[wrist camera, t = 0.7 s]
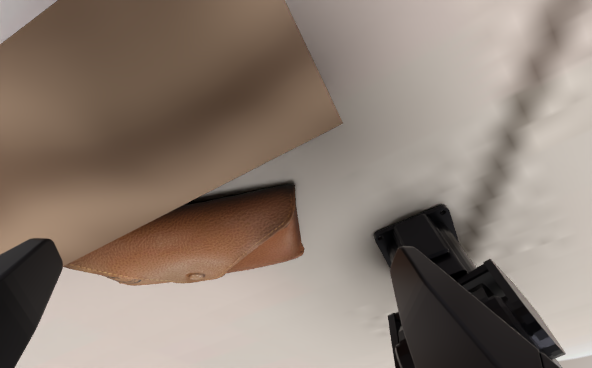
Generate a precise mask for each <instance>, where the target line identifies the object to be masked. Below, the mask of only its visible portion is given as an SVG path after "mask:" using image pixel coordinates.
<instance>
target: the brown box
mask: <svg viewBox="0 0 592 368" xmlns="http://www.w3.org/2000/svg"><path fill="white" fill-rule="evenodd" d="M341 124H343V122H342V120H341V118H340V116H339V114H338V112H337V109H336V107H335V105H334V103H333V101H332V99H331V97H330V95H329V93H328V91H327V88H326V86H325V84H324V82H323V80H322V78H321V76H320V74H319V72H318V69H317V67H316V65H315V63H314V61H313V59H312V57H311V55H310V53H309V51H308V48H307V46H306V44H305V42H304V40H303V38H302V36H301V34H300V32H299V29H298V27H297V25H296V23H295V21H294V19H293V17H292V15H291V13H290V10H289V8H288V6H287V4H286V2H285V0H58V1H56V2H55V3H54V4H53V5H51V6H50V7H49V8H47V9H46V10H45V11H43V12H42V13H41V14H39V15H38V16H37V17H36V18H34V19H33V20H32V21H30V22H29V23H28V24H26V25H25V26H24V27H22V28H21V29H20V30H19V31H17V32H16V33H15V34H13V35H12V36H11V37H9V38H8V39H7V40H5V41H4V42H3V43H2V44H0V254H2V253H4V252H6V251H8V250H10V249H12V248H14V247H15V246H17V245H19V244H21V243H23V242H25V241H27V240H29V239H32V238H48V239H51V240H52V241H53V242H54V244H55V246H56V248H57V250H58V252H59V254H60V256H61V258H62V261H63V266H65V265H67V264H69V263H71V262H73V261H75V260H77V259H79V258H80V257H82V256H84V255H86V254H88V253H90V252H92V251H94V250H96V249H98V248H100V247H102V246H104V245H106V244H108V243H110V242H112V241H114V240H116V239H118V238H120V237H122V236H124V235H125V234H127V233H129V232H131V231H133V230H135V229H137V228H139V227H141V226H143V225H145V224H147V223H149V222H151V221H153V220H155V219H157V218H159V217H161V216H163V215H165V214H167V213H169V212H171V211H172V210H174V209H176V208H178V207H180V206H182V205H184V204H186V203H188V202H190V201H192V200H194V199H196V198H198V197H200V196H202V195H204V194H206V193H208V192H210V191H212V190H214V189H216V188H217V187H219V186H221V185H223V184H225V183H227V182H229V181H231V180H233V179H235V178H237V177H239V176H241V175H243V174H245V173H247V172H249V171H251V170H253V169H255V168H257V167H259V166H261V165H263V164H264V163H266V162H268V161H270V160H272V159H274V158H276V157H278V156H280V155H282V154H284V153H286V152H288V151H290V150H292V149H294V148H296V147H298V146H300V145H302V144H304V143H306V142H308V141H309V140H311V139H313V138H315V137H317V136H319V135H321V134H323V133H325V132H327V131H329V130H331V129H333V128H335V127H337V126H339V125H341Z"/></svg>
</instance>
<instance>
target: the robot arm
mask: <svg viewBox="0 0 592 368" xmlns="http://www.w3.org/2000/svg"><path fill="white" fill-rule="evenodd" d="M442 210H443V211H442ZM380 236H381V237H380ZM374 239H375V241H376V243H377V245H378V247H379V249H380V250H381V252H382V254H383V256H384V258H385V260H386V261H387V263H388V265H389V267H390V273H391V278H392V283H393V288H394V292H395V297H396V301H397V306H398V311H399V312H397V313H393V314H391V315H389V316H388V320H389V328H390V335H391V341H392V348H393V354H394V361H395V368H562V367H561V365H560V364H559V363H558V361H557V360H556V359H555V358H557V357H560V356H562V355H565V352H564V350H563V349H562V347H561V346H560V344H559V343H558V342H557V340H556V339H555V337H554V336H553V334H552V333H551V331H550V330H549V329H548V327H547V326H546V324H545V323H544V321H543V320H542V318H541V317H540V315H539V314H538V313H537V311H536V310H535V309H534V308H533V307H532V305H531V304H530V303H529V302H528V300H527V299H526V298H525V297H524V295H523V294H522V293H521V292H520V291H519V289H518V288H517V287H516V286H515V285H514V283H513V282H512V281H511V280H510V279H509V278H508V277H507V276H506V275H505V274H504V273H503V272H502V271H501V270H500V269H499V267H498V266H497V265H496V264H495V263H494V262H493V261H492V260H491V259H489V260H487V261H485V262H484V264H483V265H481V266H479V267H477V268H476V266H475V265H474V264H473V262H472V261H471V259H470V258H469V257H468V255H467V254H466V252H465V251H464V250H463V248H462V247H461V245H460V244H459V241H458V238H457V235H456V231H455V228H454V225H453V222H452V218H451V215H450V212H449V209H448V208H447V207H446V206H445V205H439V206H437V207H435V208H432V209H430V210H428V211H425V212H423V213H420V214H418V215H416V216H413V217H411V218H408V219H406V220H404V221H401V222H399V223H397V224H394V225H392V226H389V227H387V228H385V229H382V230H380V231H377V232H376V233H375V234H374ZM62 268H63V261H62V258H61V256H60V254H59V252H58V250H57V248H56V246H55V244H54V242H53V241H52V240H51V239H48V238H32V239H29V240H27V241H25V242H23V243H21V244H19V245H17V246H15V247H14V248H12V249H10V250H8V251H6V252H4V253H2V254H0V368H15V366H16V364H17V362H18V361H19V359H20V357H21V355H22V353H23V352H24V350H25V348H26V346H27V345H28V343H29V341H30V339H31V337H32V335H33V334H34V332H35V330H36V328H37V326H38V324H39V322H40V319H41V317H42V315H43V313H44V310H45V308H46V306H47V303H48V301H49V299H50V297H51V294H52V292H53V290H54V287H55V285H56V283H57V281H58V278H59V276H60V274H61V271H62Z"/></svg>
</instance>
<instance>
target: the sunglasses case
mask: <svg viewBox="0 0 592 368" xmlns="http://www.w3.org/2000/svg"><path fill="white" fill-rule="evenodd" d="M297 216H298V215H297V209H296V198H295V185H294V184H293V185H281V186H276V187H272V188H266V189H261V190H257V191H253V192H249V193H244V194H239V195H235V196H230V197H224V198H219V199H215V200H211V201H206V202H201V203H194V204H189V205H182V206H180V207H178V208H176V209H174V210H172V211H171V212H169V213H167V214H165V215H163V216H161V217H159V218H157V219H155V220H153V221H151V222H149V223H147V224H145V225H143V226H141V227H139V228H137V229H135V230H133V231H131V232H129V233H127V234H125V235H124V236H122V237H120V238H118V239H116V240H114V241H112V242H110V243H108V244H106V245H104V246H102V247H100V248H98V249H96V250H94V251H92V252H90V253H88V254H86V255H84V256H82V257H80V258H79V259H77V260H75V261H73V262H71V263H69V264H67V265H65V266H63V267H66V268H69V269H73V270H79V271H84V272H89V273H93V274H98V275H102V276H105V277H107V278H110V279H113V280H115V281H118V282H119V283H120V284H121V283H123V284H126V285H134V286H135V285H149V284H159V283H168V282H175V283H193V282H199V281H205V280H212V279H217V278H220V277H222V276H224V275H225V274H226V273H230V272H236V271H243V270H249V269H254V268H258V267H263V266H268V265H273V264H277V263H281V262H285V261H288V260H292V259H295V258H298V257H299V256H302V254H303V253H304V247H303V245H302V243H301V236H300V229H299V223H298V217H297Z"/></svg>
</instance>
